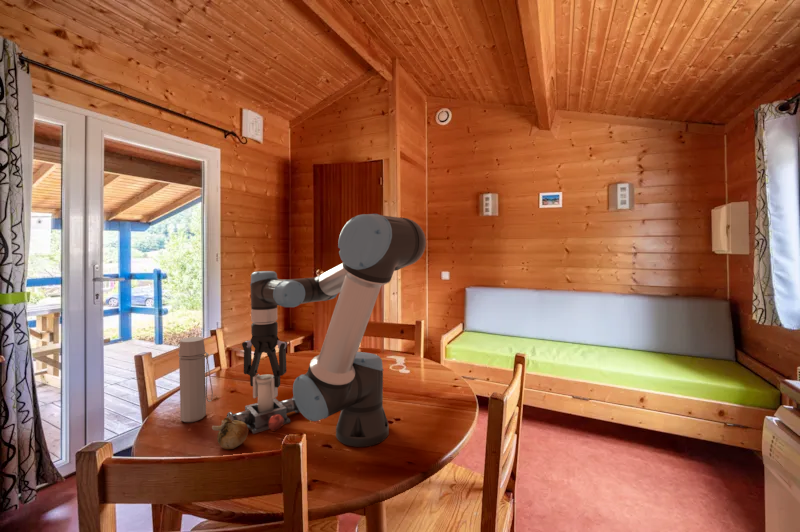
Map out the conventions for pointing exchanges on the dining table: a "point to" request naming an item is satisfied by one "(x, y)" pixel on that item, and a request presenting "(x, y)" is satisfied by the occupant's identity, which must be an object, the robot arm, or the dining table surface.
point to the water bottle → (193, 379)
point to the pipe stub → (264, 393)
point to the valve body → (266, 416)
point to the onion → (231, 433)
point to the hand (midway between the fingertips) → (265, 396)
